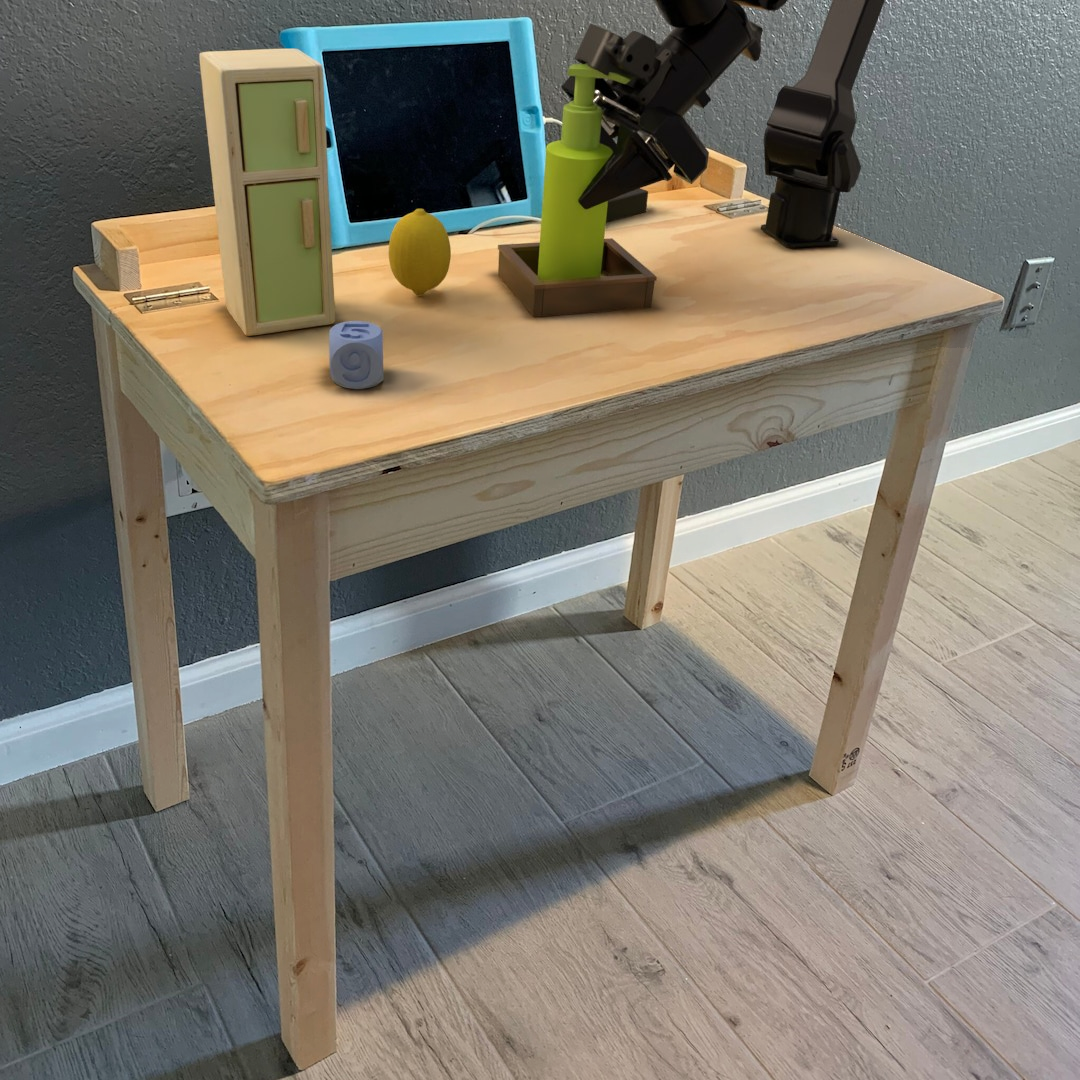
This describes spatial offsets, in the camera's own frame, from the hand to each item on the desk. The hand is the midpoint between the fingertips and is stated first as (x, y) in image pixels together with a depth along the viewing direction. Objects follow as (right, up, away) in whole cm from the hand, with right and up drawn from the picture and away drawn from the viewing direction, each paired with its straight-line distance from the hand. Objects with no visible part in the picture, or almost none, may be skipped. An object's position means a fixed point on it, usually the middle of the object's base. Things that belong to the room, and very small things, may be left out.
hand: (566, 195), depth 102 cm
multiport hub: (+4, +5, +26) cm, 27 cm away
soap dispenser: (+1, -7, +6) cm, 9 cm away
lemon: (-13, -9, +2) cm, 16 cm away
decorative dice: (-17, -18, -13) cm, 28 cm away
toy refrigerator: (-25, -12, -4) cm, 28 cm away
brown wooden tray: (+1, -7, +5) cm, 9 cm away
